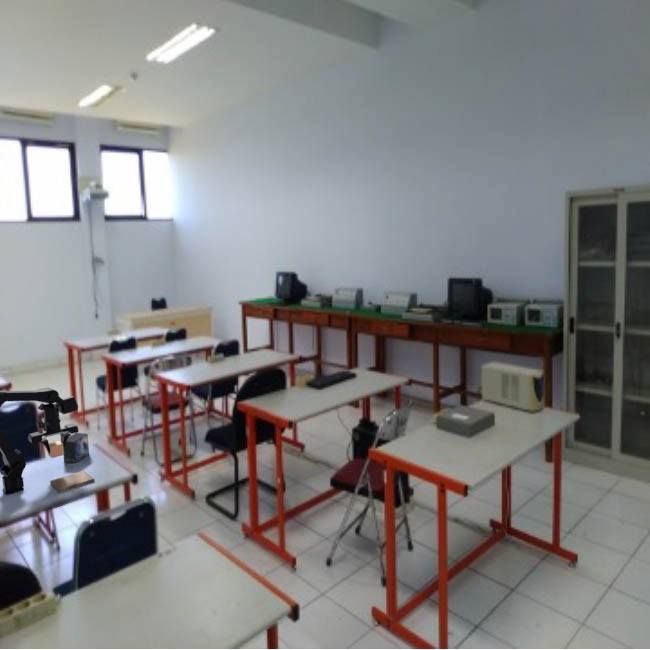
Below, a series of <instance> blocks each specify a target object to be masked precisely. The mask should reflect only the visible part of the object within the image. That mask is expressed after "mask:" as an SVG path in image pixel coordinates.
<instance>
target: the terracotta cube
mask: <svg viewBox="0 0 650 650" xmlns="http://www.w3.org/2000/svg"><path fill="white" fill-rule="evenodd" d="M49 448H50V454H48V453H47V455H48V456H49V457H50V458H51V459H54V458H57V457H61V456H64V449H63V443H61V440H56V441H53V442H49Z"/></svg>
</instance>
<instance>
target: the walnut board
mask: <svg viewBox="0 0 650 650" xmlns="http://www.w3.org/2000/svg"><path fill="white" fill-rule="evenodd" d="M49 481H50V484H51V485H52V486H53V488H55V490H56V491H57V492H58V493H61V492H65V491H68V490H71V489H74V488H77V487H80V486H83V485H87V484H89V483H90V484H91V483H93V482H95V478H94V477H93V476H92V475H90V474H89V473H88V472H87V471H86V470H85V469H84V470H82V471H79V472H78V471H77V472H75V473H71V474H68V475H65V476H62V477H58V478H55V479H51V480H49Z"/></svg>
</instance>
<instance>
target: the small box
mask: <svg viewBox="0 0 650 650" xmlns="http://www.w3.org/2000/svg"><path fill="white" fill-rule="evenodd" d="M89 455H90V448H89V435H88V433H82V432H77V433H73V434H71V436H69V437H68V439H67V441H66V444H65V447H64V455H63V462H64V463H70V464H77V463H78V462H80V461H81V460H83V459H84V458H86V457H87V456H89Z"/></svg>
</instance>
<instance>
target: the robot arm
mask: <svg viewBox="0 0 650 650" xmlns="http://www.w3.org/2000/svg"><path fill="white" fill-rule="evenodd" d="M6 402H40V405H39V406H38V407H37V409H38V410H40V411H43V417H44V418H43V420H41V421H37V422H36V427H37V430H42V431H43V432H42V433H40V432H39V431H35V432H32V433H29V434H28V436H27V440H28V442H30V443H31V445H32V444H38V443H40V444H42V445H43V446H44V448H45V450H46V452H47V455H48V454H50V448H49V443H50V442H49V440H48V437H52V436H55V435H60V442H61V443H63V449H64V447H65V444H66V441H67V439H68V437H70V436H71V435H73V434H75V433H80V432H79V431H80V430H79V426H78V425H76V424H75V423H73V422H72V423H69V424H65V425H64V428H63V427H62V426H61V419H60V418H61V417H60V414H62V415H67V414H71V413H75V412H77V411H78V410H79V409H78V408H79V405H78V403H77V400H76V398H75V396H72V395H71V396H68V397H64V398H62V397H60V393H59V392H58V391H57V390H56V389H53V388H50V387H42V388H38V389H36V390H35V389H34V390H0V408H1V407H2V406H3V405H4V404H5V403H6ZM44 403H45V404H44ZM61 427H62V428H61ZM0 452H1V456H2V460H3V463H4V464H3V465H2V467H0V475H2V476H1V479H2V487H3V488H2V491H3V493H4V494H5V495H10V494H14V493H19V492H20V491H24V490H25V489H24V486H25V484H24V477H23V472H24V470H25V469H26V466H27V463H26V461H27V459H26V458H25V457H24V455H23V452H22V451H20V450H18V449H16V448H15V449H14V448H13V447H12V445H11V444H10V442H9V440H8V439H7V437H6V436H5V434H4V432H3V431H2V429H1V428H0Z"/></svg>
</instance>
